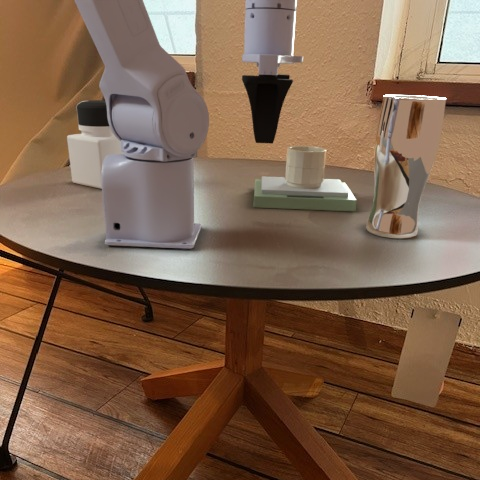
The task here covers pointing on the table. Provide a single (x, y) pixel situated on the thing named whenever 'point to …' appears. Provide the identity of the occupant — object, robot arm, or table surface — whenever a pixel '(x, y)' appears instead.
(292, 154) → the cup
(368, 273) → the table surface
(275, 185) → the scale
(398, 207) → the beer glass
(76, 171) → the medicine bottle
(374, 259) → the table surface
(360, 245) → the table surface
